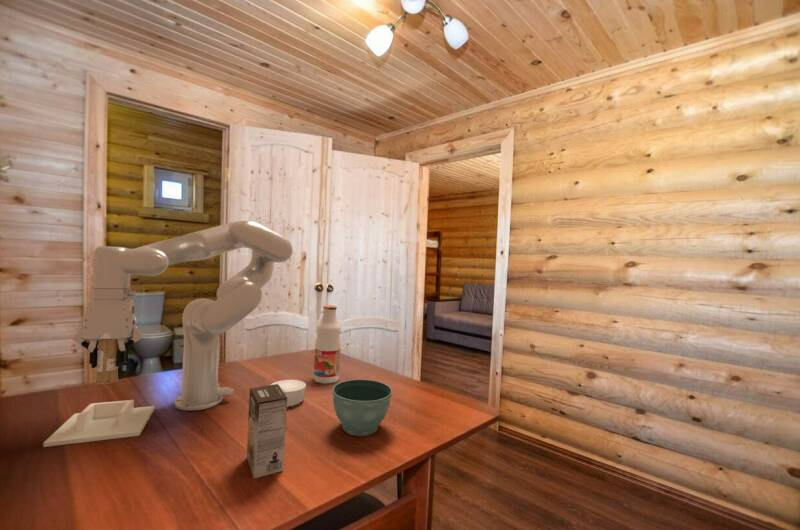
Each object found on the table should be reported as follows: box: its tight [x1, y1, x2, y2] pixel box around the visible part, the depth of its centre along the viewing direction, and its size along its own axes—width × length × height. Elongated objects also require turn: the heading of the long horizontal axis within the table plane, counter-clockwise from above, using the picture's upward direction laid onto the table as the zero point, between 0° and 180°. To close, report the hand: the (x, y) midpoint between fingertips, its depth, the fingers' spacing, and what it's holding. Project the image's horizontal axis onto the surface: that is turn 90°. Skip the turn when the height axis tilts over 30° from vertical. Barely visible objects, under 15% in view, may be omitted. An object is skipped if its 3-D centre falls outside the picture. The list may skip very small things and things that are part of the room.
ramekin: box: [270, 379, 307, 408], centre depth 113 cm, size 11×11×5 cm
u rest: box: [42, 399, 156, 448], centre depth 92 cm, size 18×16×4 cm
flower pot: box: [332, 379, 393, 437], centre depth 98 cm, size 16×16×11 cm
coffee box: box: [246, 384, 288, 479], centre depth 79 cm, size 9×6×16 cm
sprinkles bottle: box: [95, 333, 119, 386], centre depth 91 cm, size 5×5×13 cm
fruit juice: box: [313, 304, 342, 384], centre depth 135 cm, size 9×9×28 cm
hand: (107, 365), depth 91 cm, fingers closed on sprinkles bottle, 4 cm apart
